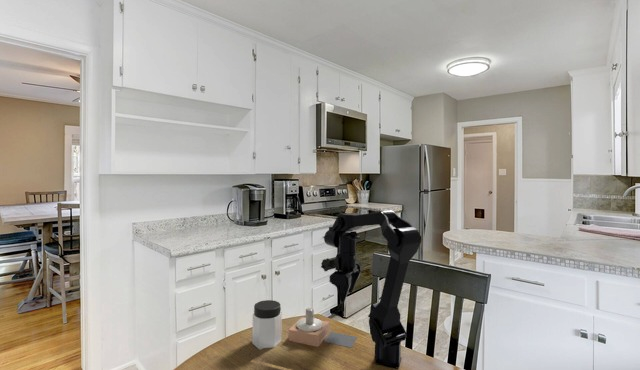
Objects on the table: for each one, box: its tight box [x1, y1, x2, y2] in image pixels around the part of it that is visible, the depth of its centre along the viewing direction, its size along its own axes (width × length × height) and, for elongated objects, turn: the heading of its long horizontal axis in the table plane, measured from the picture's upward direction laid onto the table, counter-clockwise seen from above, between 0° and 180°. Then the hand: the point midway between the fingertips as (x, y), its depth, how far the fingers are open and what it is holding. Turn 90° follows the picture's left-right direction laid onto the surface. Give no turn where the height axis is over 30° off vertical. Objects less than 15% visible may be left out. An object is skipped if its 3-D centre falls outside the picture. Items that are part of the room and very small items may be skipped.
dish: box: [288, 316, 330, 348], centre depth 103 cm, size 10×10×4 cm
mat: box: [323, 331, 358, 348], centre depth 101 cm, size 9×7×1 cm
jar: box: [251, 299, 283, 351], centre depth 99 cm, size 9×8×12 cm
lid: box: [296, 307, 323, 332], centre depth 103 cm, size 8×8×5 cm
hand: (346, 297), depth 106 cm, fingers open, 9 cm apart
